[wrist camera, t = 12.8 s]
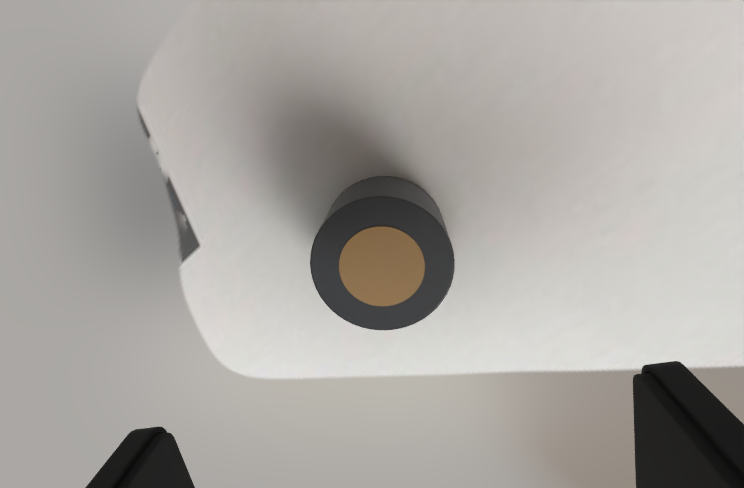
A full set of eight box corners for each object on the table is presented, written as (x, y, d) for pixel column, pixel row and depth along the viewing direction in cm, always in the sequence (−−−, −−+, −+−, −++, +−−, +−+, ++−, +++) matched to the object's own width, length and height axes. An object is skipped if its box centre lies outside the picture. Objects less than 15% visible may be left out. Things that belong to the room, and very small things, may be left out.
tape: (308, 261, 25) (289, 298, 21) (353, 155, 23) (342, 171, 19) (412, 306, 26) (415, 351, 21) (466, 206, 24) (481, 234, 19)
